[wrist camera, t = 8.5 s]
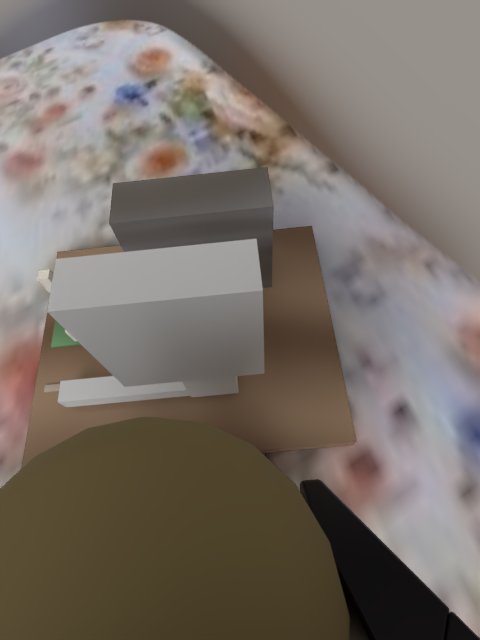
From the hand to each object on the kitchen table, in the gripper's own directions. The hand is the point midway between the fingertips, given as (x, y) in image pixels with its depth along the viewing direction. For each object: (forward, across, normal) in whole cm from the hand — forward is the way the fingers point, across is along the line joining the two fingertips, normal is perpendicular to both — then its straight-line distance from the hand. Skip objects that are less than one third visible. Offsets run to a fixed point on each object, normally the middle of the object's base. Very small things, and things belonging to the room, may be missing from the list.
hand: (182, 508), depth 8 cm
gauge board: (+11, +1, 0) cm, 11 cm away
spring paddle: (+8, +2, +2) cm, 9 cm away
